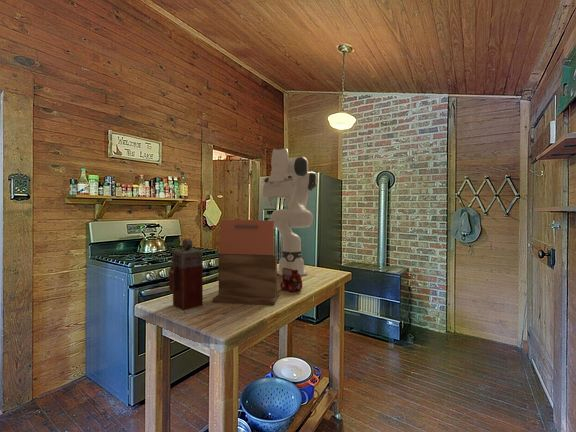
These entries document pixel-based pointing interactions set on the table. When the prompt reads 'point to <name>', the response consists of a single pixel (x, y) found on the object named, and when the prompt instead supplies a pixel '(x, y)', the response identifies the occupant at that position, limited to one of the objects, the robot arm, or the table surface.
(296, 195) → the robot arm
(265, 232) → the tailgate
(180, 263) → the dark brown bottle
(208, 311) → the table surface
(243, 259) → the wooden box
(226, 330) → the table surface
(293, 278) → the dark red lumpy cluster
